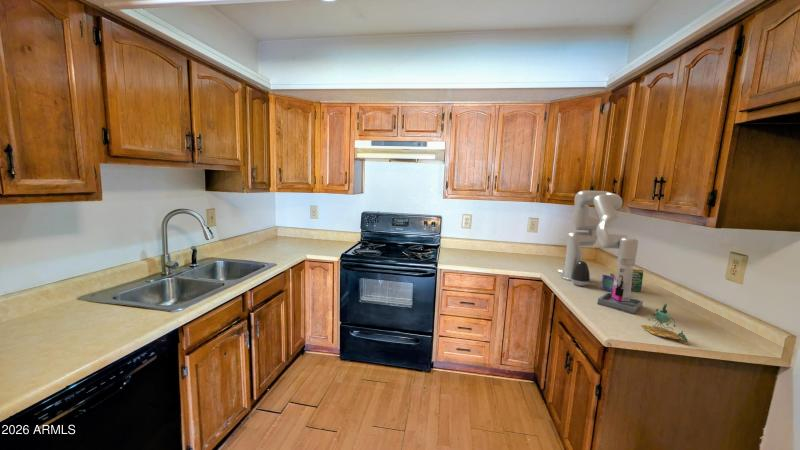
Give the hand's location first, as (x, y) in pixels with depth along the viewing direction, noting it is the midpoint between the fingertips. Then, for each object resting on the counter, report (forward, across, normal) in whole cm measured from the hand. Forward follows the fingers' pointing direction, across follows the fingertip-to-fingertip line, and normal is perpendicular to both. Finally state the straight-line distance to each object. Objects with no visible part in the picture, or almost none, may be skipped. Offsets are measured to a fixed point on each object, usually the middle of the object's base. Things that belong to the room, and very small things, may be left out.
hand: (621, 293), depth 161 cm
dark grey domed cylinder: (+7, +19, +26) cm, 33 cm away
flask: (+7, +20, +10) cm, 23 cm away
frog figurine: (+6, -24, -21) cm, 32 cm away
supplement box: (+4, 0, 0) cm, 4 cm away
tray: (+6, 0, 0) cm, 6 cm away
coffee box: (+7, +34, +2) cm, 34 cm away
